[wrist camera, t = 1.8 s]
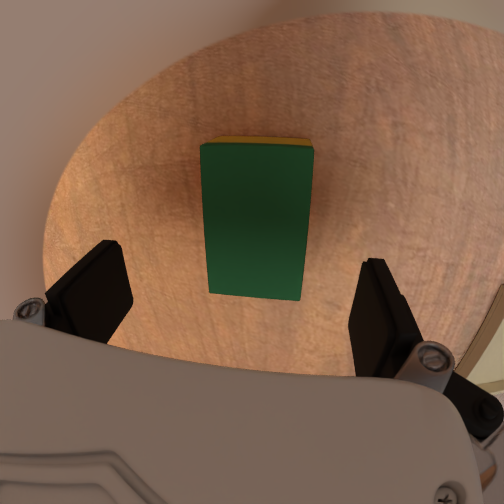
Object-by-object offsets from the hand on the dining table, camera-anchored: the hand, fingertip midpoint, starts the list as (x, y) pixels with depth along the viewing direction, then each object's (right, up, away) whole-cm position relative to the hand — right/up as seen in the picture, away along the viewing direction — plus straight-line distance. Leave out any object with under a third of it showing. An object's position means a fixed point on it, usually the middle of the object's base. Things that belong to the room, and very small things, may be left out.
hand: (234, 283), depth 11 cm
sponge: (+1, +4, +6) cm, 7 cm away
